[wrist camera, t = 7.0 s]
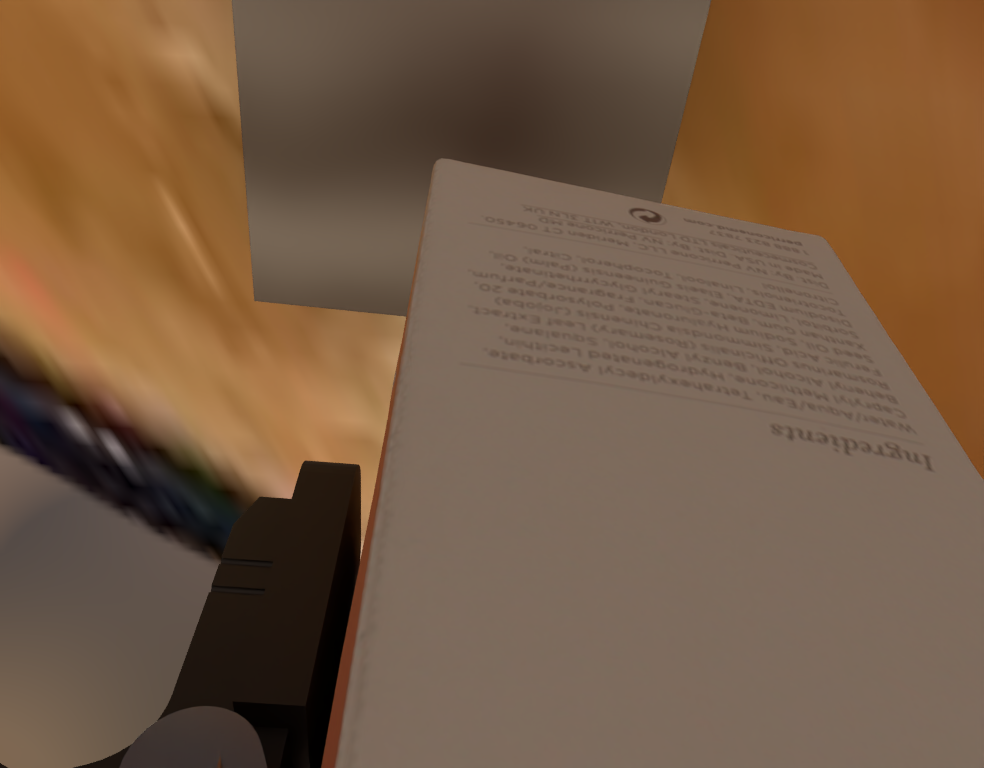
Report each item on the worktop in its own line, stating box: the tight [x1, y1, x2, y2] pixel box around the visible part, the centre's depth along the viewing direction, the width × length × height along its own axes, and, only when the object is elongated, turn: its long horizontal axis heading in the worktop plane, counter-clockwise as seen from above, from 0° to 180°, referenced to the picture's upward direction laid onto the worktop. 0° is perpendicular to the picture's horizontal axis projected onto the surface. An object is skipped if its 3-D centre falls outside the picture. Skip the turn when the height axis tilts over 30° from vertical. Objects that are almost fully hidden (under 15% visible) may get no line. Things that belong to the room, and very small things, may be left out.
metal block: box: [232, 0, 711, 316], centre depth 25 cm, size 12×12×4 cm
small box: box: [321, 158, 984, 768], centre depth 9 cm, size 8×6×10 cm
